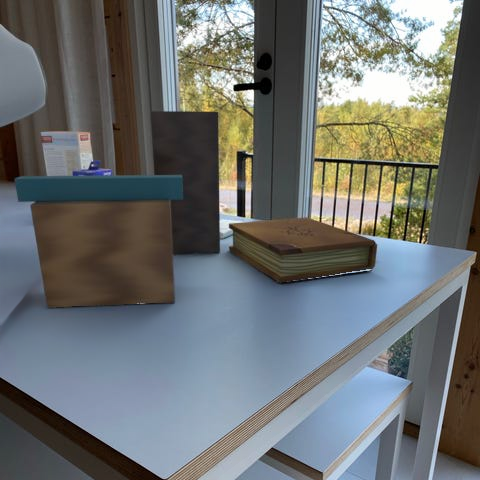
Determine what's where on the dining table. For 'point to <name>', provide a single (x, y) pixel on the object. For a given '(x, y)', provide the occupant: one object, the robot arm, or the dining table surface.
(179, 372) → the dining table surface
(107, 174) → the ink cartridge box
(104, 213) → the brown wooden block
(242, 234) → the diary
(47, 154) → the cracker box
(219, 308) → the dining table surface
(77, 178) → the teal bar
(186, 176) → the stand
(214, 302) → the dining table surface
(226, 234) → the hard drive
